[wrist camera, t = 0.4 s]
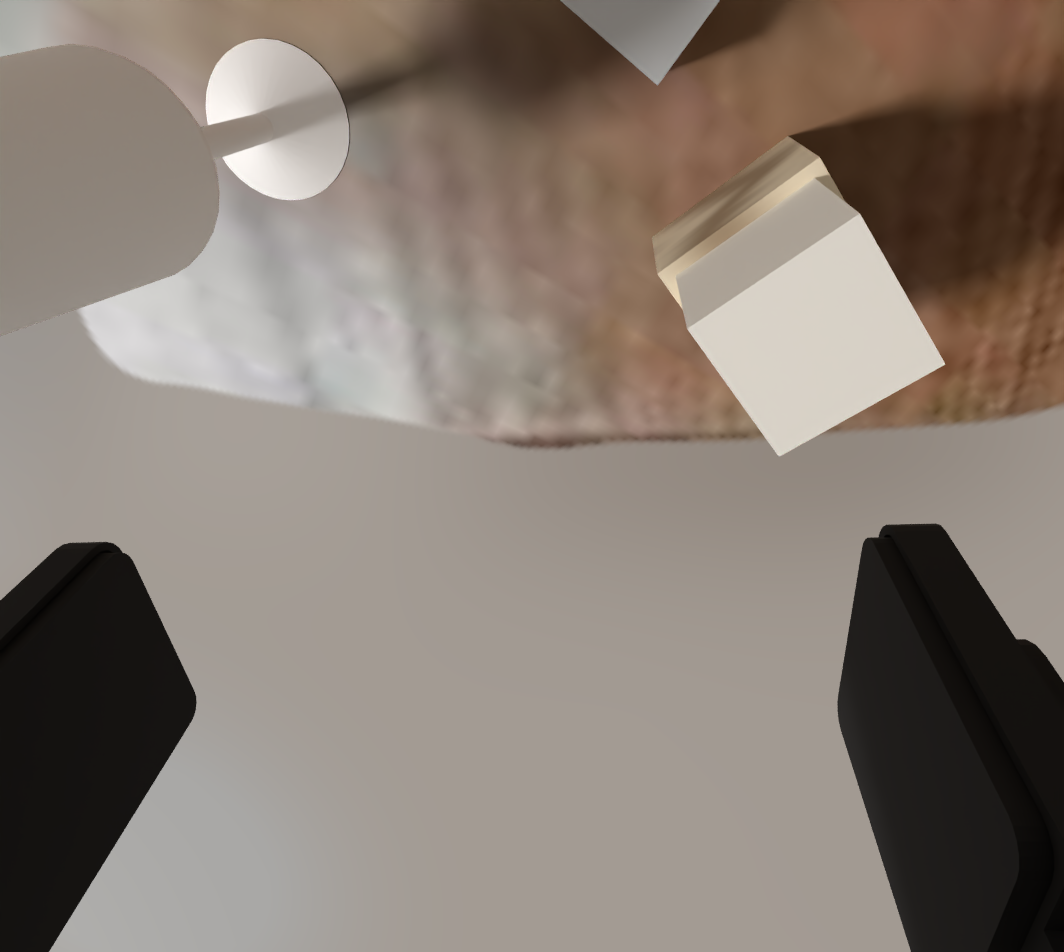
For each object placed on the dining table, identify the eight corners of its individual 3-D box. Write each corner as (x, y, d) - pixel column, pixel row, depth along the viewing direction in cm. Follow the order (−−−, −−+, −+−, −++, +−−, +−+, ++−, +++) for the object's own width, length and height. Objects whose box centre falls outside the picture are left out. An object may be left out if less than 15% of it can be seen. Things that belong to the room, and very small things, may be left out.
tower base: (787, 136, 32) (819, 157, 27) (863, 265, 34) (906, 307, 29) (651, 237, 34) (657, 273, 29) (730, 349, 37) (748, 401, 32)
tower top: (814, 177, 27) (859, 213, 22) (888, 305, 29) (945, 364, 24) (675, 275, 29) (687, 328, 24) (753, 386, 31) (778, 456, 26)
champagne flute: (188, 38, 32) (-567, 58, 12) (338, 37, 31) (-182, 58, 11) (223, 200, 35) (-311, 433, 15) (358, 202, 35) (-8, 448, 15)
